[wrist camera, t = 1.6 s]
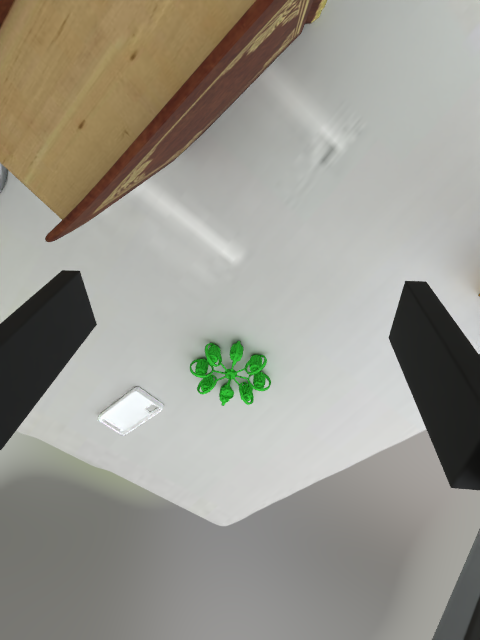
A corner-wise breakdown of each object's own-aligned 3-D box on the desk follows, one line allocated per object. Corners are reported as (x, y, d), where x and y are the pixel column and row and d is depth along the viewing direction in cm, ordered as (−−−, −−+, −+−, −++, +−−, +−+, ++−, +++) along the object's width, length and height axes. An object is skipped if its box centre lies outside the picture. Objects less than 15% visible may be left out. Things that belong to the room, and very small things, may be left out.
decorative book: (288, -90, 31) (305, -733, 7) (335, 0, 34) (468, -211, 10) (134, 100, 41) (-90, 126, 16) (182, 156, 44) (53, 250, 19)
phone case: (137, 385, 70) (98, 414, 76) (134, 390, 68) (95, 419, 75) (165, 405, 72) (125, 431, 79) (163, 410, 71) (123, 436, 78)
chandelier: (243, 322, 58) (239, 348, 52) (286, 379, 64) (287, 407, 59) (176, 354, 63) (165, 380, 58) (222, 403, 70) (216, 431, 64)
